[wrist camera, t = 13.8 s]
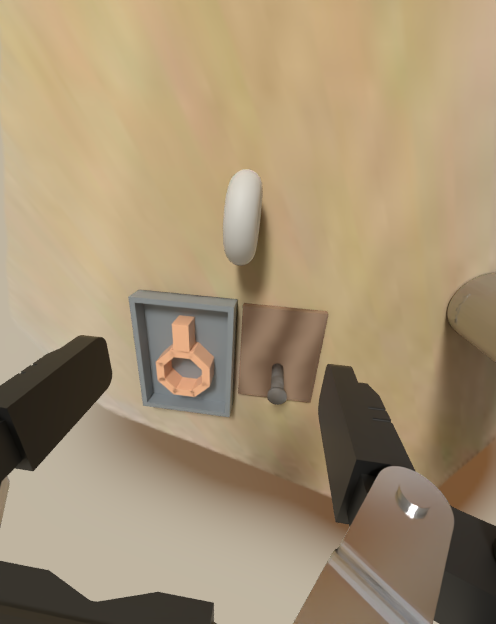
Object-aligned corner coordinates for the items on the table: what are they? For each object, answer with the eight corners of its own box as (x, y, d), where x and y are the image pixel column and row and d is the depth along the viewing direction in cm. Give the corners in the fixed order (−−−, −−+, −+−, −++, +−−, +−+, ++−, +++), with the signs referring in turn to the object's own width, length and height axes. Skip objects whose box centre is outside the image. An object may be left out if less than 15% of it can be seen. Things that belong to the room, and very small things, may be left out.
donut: (258, 256, 36) (249, 278, 27) (232, 253, 36) (216, 274, 27) (267, 174, 32) (261, 166, 23) (238, 171, 32) (221, 162, 23)
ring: (214, 318, 40) (209, 327, 37) (214, 386, 45) (209, 398, 42) (160, 313, 40) (151, 321, 38) (166, 380, 46) (158, 392, 43)
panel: (327, 311, 38) (337, 337, 31) (309, 398, 44) (314, 435, 38) (243, 303, 39) (235, 326, 32) (239, 389, 45) (231, 423, 39)
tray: (237, 299, 39) (233, 307, 36) (232, 404, 47) (229, 417, 44) (138, 289, 40) (128, 296, 37) (151, 393, 48) (143, 405, 45)
